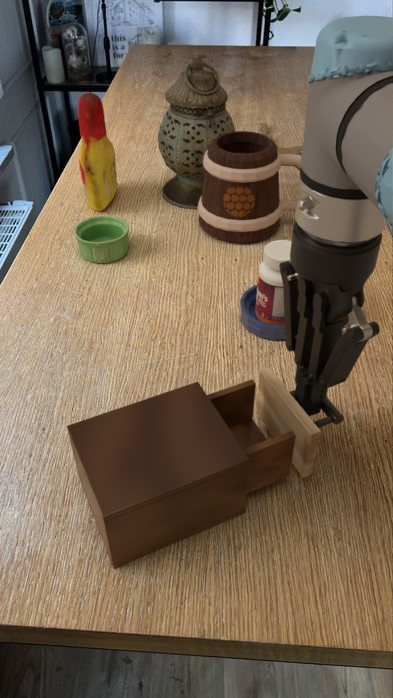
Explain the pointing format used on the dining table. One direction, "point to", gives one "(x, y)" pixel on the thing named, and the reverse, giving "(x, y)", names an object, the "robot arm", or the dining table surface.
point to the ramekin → (102, 238)
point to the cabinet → (159, 471)
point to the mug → (243, 187)
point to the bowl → (252, 321)
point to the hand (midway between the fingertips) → (306, 411)
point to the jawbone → (292, 150)
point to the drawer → (272, 428)
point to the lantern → (191, 130)
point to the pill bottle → (272, 283)
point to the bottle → (96, 154)
